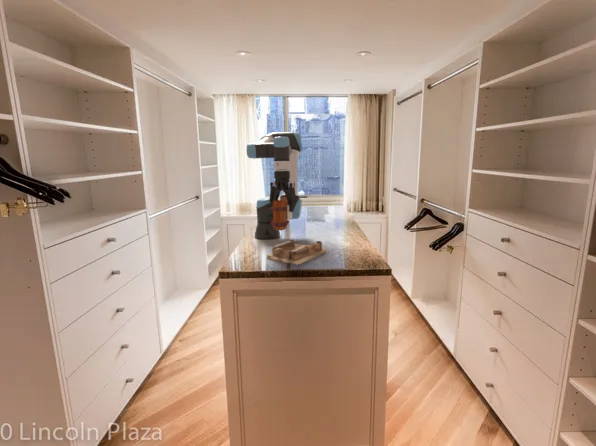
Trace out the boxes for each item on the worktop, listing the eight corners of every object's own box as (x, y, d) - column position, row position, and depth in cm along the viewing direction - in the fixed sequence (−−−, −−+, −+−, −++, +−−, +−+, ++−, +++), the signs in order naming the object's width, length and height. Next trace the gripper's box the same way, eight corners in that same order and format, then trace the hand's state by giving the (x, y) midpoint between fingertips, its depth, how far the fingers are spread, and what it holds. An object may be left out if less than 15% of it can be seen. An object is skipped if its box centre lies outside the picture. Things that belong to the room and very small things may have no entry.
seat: (267, 258, 154) (266, 247, 152) (296, 246, 172) (296, 236, 171) (297, 265, 143) (297, 253, 142) (325, 251, 162) (325, 241, 161)
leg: (318, 248, 163) (318, 240, 162) (323, 249, 161) (323, 241, 161) (304, 253, 155) (304, 245, 154) (309, 254, 153) (309, 246, 152)
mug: (284, 232, 152) (284, 200, 148) (268, 230, 154) (267, 199, 151) (294, 225, 165) (294, 196, 162) (279, 224, 168) (279, 195, 164)
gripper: (260, 170, 157) (262, 216, 162) (293, 170, 145) (294, 220, 149) (271, 170, 163) (272, 214, 167) (304, 170, 150) (304, 218, 155)
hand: (283, 217), depth 158 cm, fingers closed on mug, 8 cm apart
